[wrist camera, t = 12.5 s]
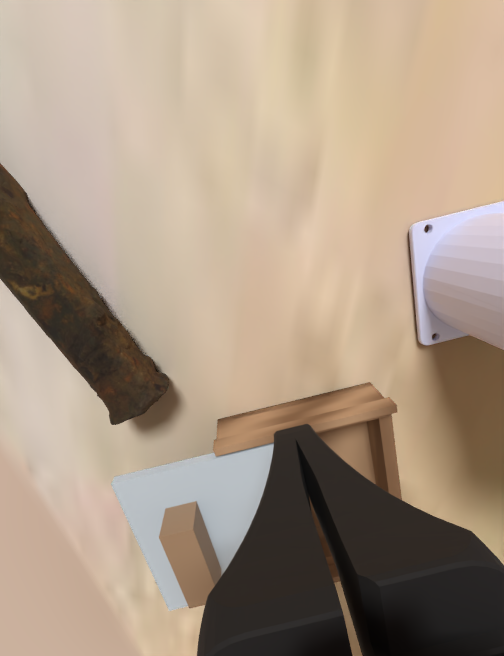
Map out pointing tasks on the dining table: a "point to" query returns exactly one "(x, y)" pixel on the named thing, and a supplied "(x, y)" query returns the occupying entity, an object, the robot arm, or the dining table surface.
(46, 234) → the dark brown wooden log
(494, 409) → the dining table surface
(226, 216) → the dining table surface
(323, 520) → the robot arm
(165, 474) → the lid
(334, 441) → the wooden tray
